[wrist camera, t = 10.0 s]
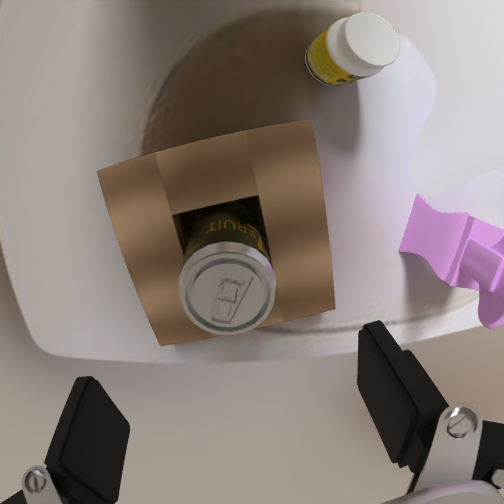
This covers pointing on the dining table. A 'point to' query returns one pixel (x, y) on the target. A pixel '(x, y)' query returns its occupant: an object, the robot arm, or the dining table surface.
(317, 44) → the supplement bottle
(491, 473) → the robot arm
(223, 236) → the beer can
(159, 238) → the holder block
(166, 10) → the dining table surface
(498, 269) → the toy chair
